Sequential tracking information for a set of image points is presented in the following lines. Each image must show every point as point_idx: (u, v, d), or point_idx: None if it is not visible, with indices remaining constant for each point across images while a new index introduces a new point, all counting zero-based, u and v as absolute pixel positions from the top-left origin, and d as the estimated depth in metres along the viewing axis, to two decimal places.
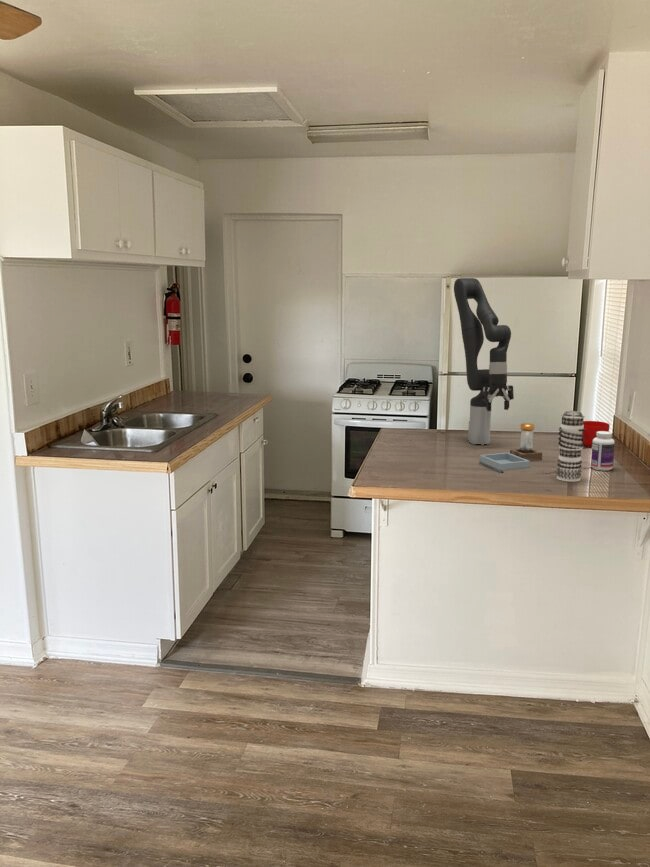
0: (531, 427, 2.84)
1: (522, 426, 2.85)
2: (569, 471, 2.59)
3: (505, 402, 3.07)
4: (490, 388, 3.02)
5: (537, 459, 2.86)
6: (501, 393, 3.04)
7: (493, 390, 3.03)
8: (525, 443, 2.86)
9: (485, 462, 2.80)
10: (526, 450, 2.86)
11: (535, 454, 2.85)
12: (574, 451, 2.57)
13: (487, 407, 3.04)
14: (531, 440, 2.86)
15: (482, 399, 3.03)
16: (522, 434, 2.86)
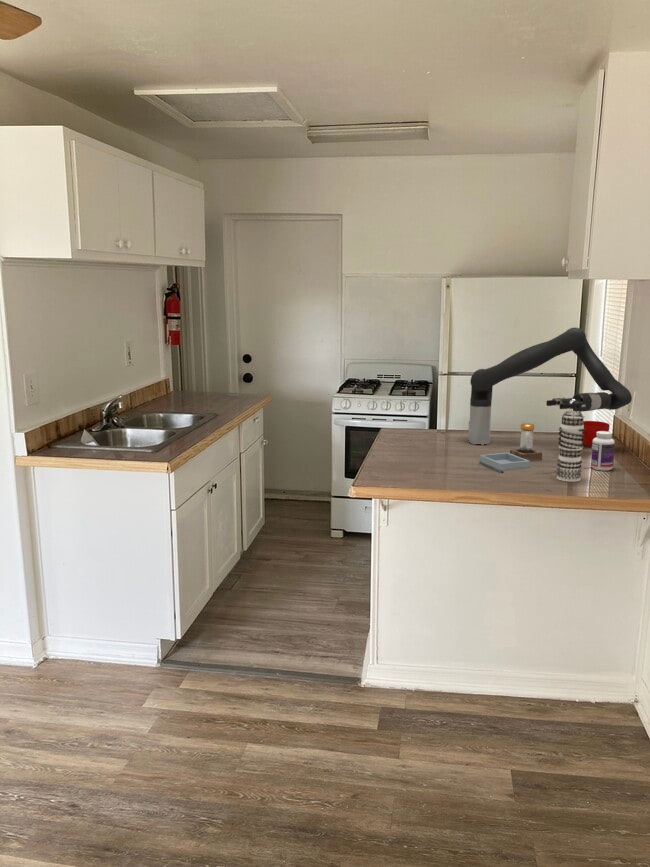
0: (531, 427, 2.84)
1: (522, 426, 2.85)
2: (569, 471, 2.59)
3: (553, 402, 2.93)
4: None
5: (537, 459, 2.86)
6: None
7: (576, 407, 2.89)
8: (525, 443, 2.86)
9: (485, 462, 2.80)
10: (526, 450, 2.86)
11: (535, 454, 2.85)
12: (574, 451, 2.57)
13: (565, 407, 2.84)
14: (531, 440, 2.86)
15: (575, 404, 2.83)
16: (522, 434, 2.86)
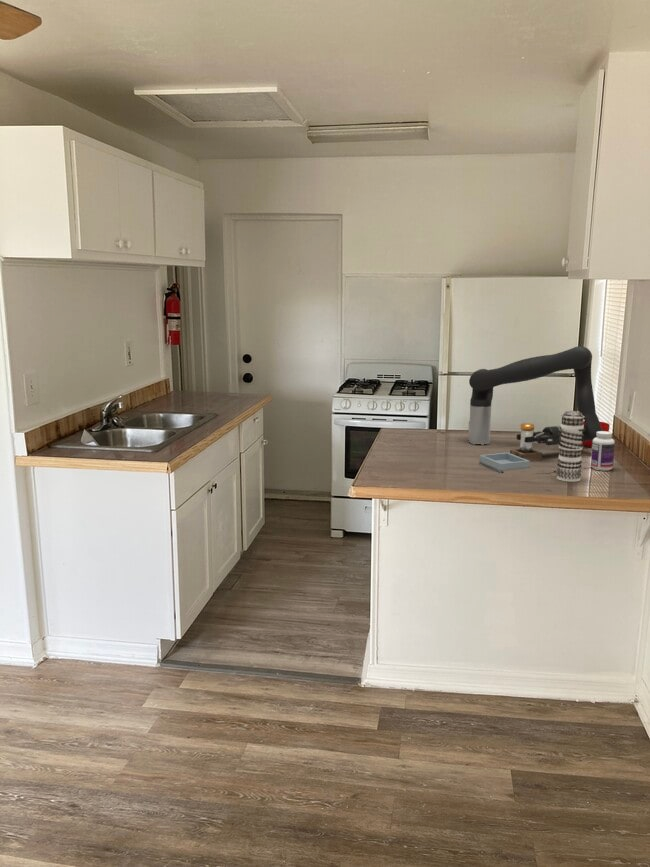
0: (531, 427, 2.84)
1: (522, 426, 2.85)
2: (569, 471, 2.59)
3: None
4: None
5: (537, 459, 2.86)
6: None
7: None
8: (525, 443, 2.86)
9: (485, 462, 2.80)
10: (526, 450, 2.86)
11: (535, 454, 2.85)
12: (574, 451, 2.57)
13: (530, 440, 2.84)
14: None
15: (539, 438, 2.83)
16: (522, 434, 2.86)
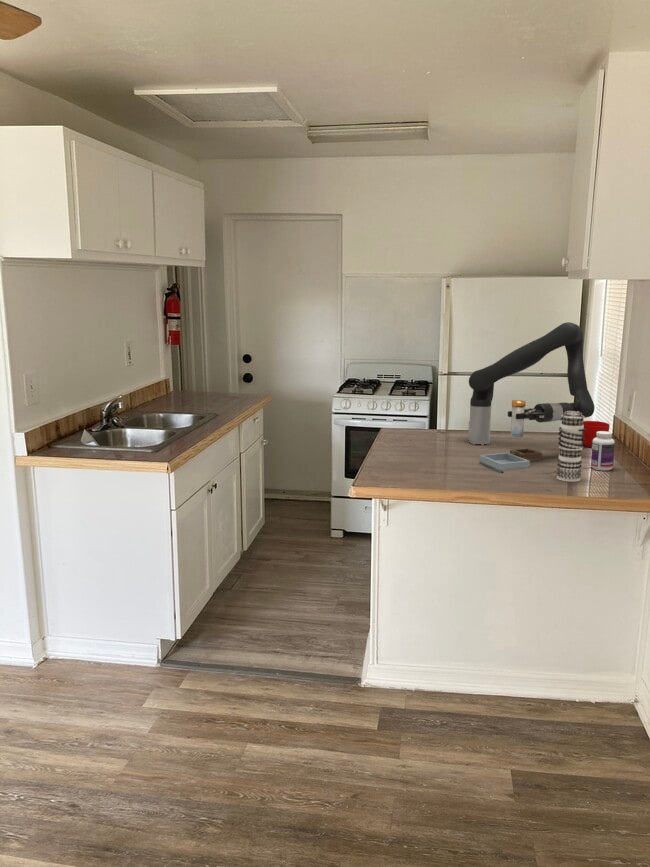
0: (522, 403, 2.77)
1: (513, 402, 2.78)
2: (569, 471, 2.59)
3: None
4: None
5: (537, 459, 2.86)
6: None
7: None
8: (517, 420, 2.79)
9: (485, 462, 2.80)
10: (517, 427, 2.79)
11: (535, 454, 2.85)
12: (574, 451, 2.57)
13: (521, 417, 2.77)
14: None
15: (531, 415, 2.76)
16: (513, 411, 2.79)
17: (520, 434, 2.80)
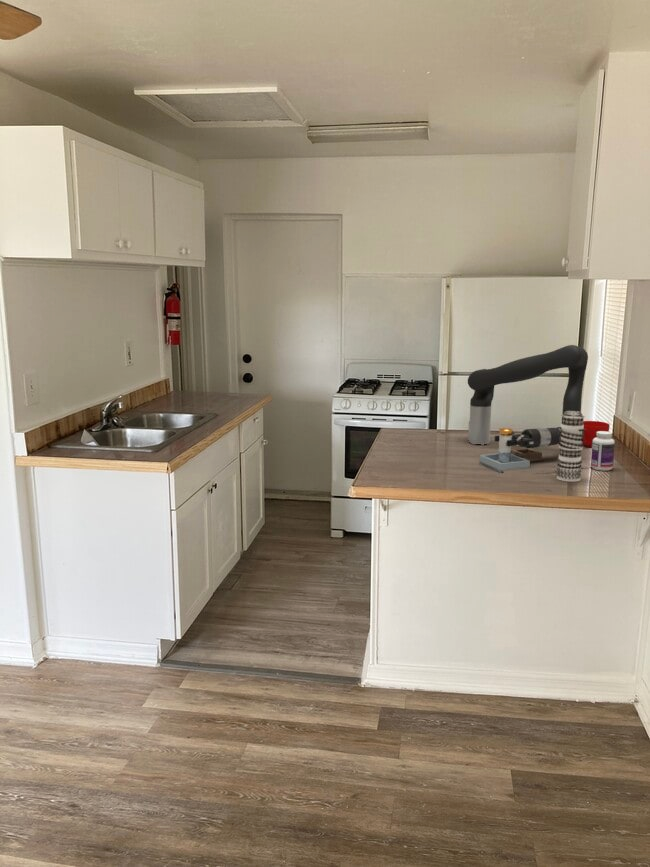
0: (510, 432, 2.75)
1: (500, 431, 2.76)
2: (569, 471, 2.59)
3: None
4: None
5: (537, 459, 2.86)
6: None
7: (524, 443, 2.78)
8: (504, 448, 2.77)
9: (485, 462, 2.80)
10: (504, 456, 2.77)
11: (535, 454, 2.85)
12: (574, 451, 2.57)
13: (512, 444, 2.73)
14: None
15: (522, 441, 2.72)
16: (500, 439, 2.77)
17: (507, 462, 2.78)
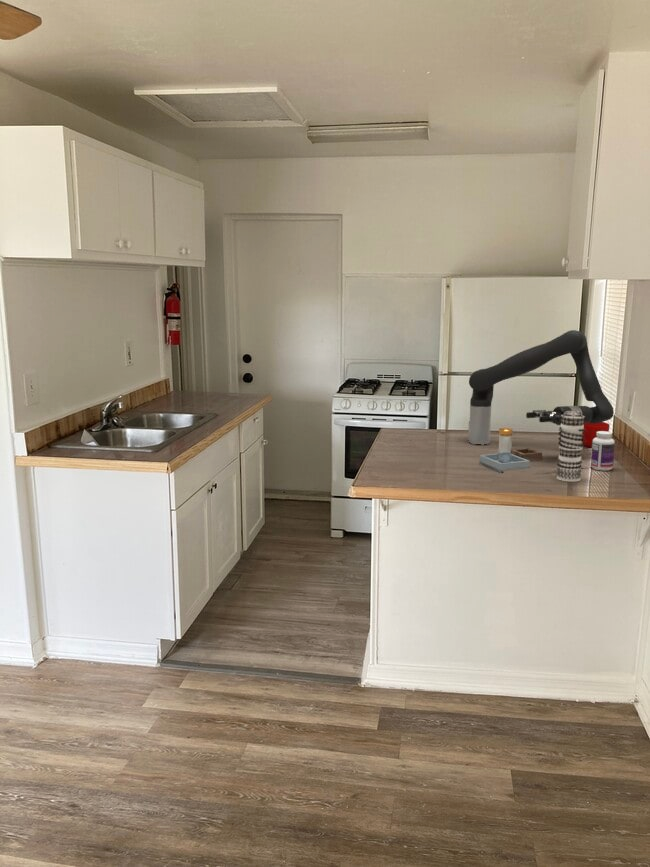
0: (509, 432, 2.75)
1: (500, 431, 2.76)
2: (569, 471, 2.59)
3: (534, 414, 2.85)
4: None
5: (537, 459, 2.86)
6: None
7: (556, 420, 2.81)
8: (504, 448, 2.77)
9: (485, 462, 2.80)
10: (504, 456, 2.77)
11: (535, 454, 2.85)
12: (574, 451, 2.57)
13: (544, 420, 2.76)
14: (509, 445, 2.77)
15: (555, 418, 2.76)
16: (500, 439, 2.77)
17: (507, 462, 2.78)
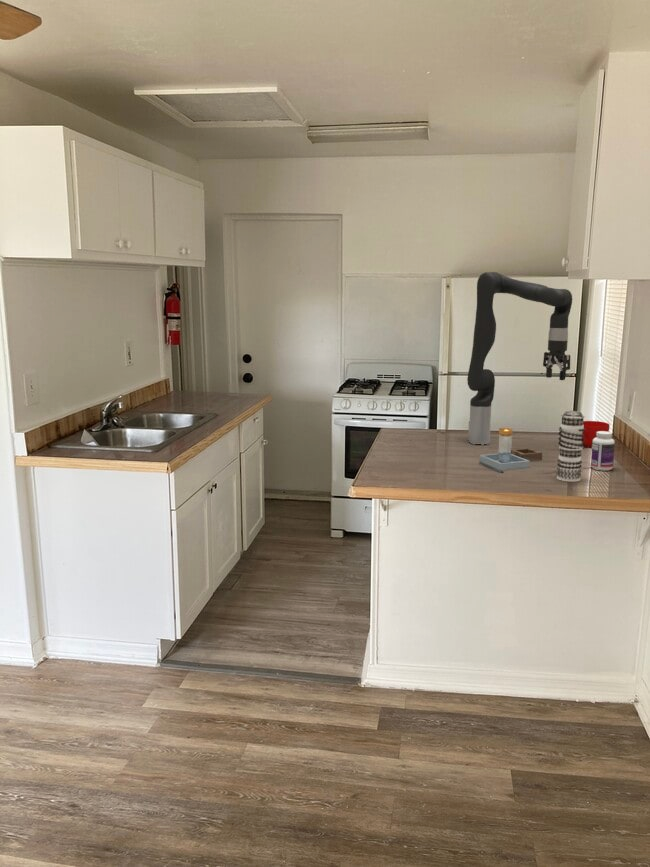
0: (509, 432, 2.75)
1: (500, 431, 2.76)
2: (569, 471, 2.59)
3: (549, 370, 2.96)
4: None
5: (537, 459, 2.86)
6: None
7: None
8: (504, 448, 2.77)
9: (485, 462, 2.80)
10: (504, 456, 2.77)
11: (535, 454, 2.85)
12: (574, 451, 2.57)
13: (564, 376, 2.87)
14: (509, 445, 2.77)
15: (565, 368, 2.85)
16: (500, 439, 2.77)
17: (507, 462, 2.78)
